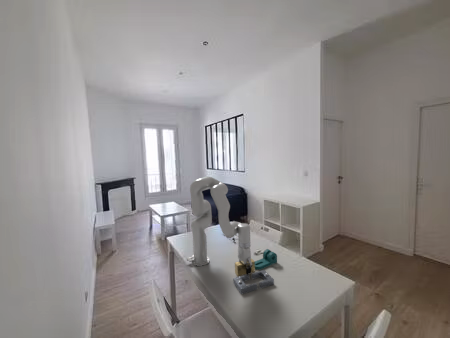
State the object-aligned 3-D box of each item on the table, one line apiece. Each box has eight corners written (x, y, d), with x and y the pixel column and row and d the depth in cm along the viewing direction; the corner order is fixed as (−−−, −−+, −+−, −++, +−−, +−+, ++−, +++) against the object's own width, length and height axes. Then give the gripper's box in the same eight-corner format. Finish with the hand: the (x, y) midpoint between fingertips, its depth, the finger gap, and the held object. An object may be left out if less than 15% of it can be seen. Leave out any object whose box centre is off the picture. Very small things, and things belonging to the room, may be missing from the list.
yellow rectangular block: (237, 276, 127) (237, 265, 126) (235, 273, 131) (234, 262, 130) (254, 272, 131) (254, 261, 131) (251, 268, 135) (251, 258, 135)
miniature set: (219, 232, 194) (229, 231, 200) (241, 249, 165) (252, 247, 171) (220, 226, 193) (230, 225, 200) (242, 241, 164) (254, 240, 171)
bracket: (270, 258, 147) (270, 248, 147) (277, 262, 142) (277, 251, 141) (250, 266, 138) (250, 255, 137) (256, 271, 132) (256, 259, 132)
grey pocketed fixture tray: (241, 294, 111) (240, 287, 111) (233, 282, 121) (233, 276, 121) (273, 284, 119) (273, 278, 118) (264, 274, 128) (264, 268, 128)
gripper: (233, 239, 136) (234, 264, 138) (245, 250, 120) (245, 278, 121) (243, 237, 139) (244, 261, 140) (256, 248, 123) (257, 275, 124)
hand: (245, 269), depth 131 cm, fingers open, 9 cm apart
